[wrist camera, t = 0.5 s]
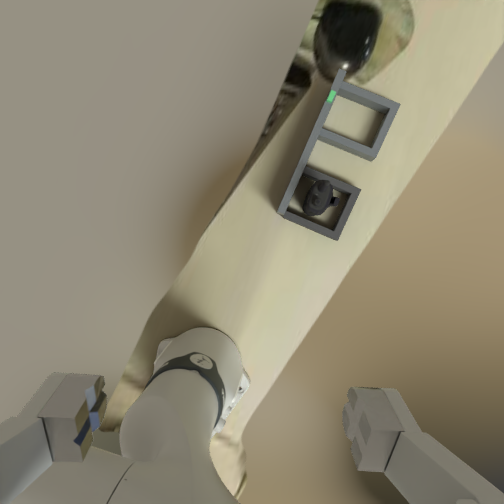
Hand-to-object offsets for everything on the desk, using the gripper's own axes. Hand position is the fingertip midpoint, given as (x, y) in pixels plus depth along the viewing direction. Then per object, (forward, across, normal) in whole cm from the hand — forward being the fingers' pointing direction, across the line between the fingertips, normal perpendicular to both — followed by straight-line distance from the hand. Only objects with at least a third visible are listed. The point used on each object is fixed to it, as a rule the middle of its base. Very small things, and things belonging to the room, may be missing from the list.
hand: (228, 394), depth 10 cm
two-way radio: (+46, +14, -4) cm, 48 cm away
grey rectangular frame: (+46, +14, -4) cm, 48 cm away
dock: (+48, +16, +3) cm, 51 cm away
